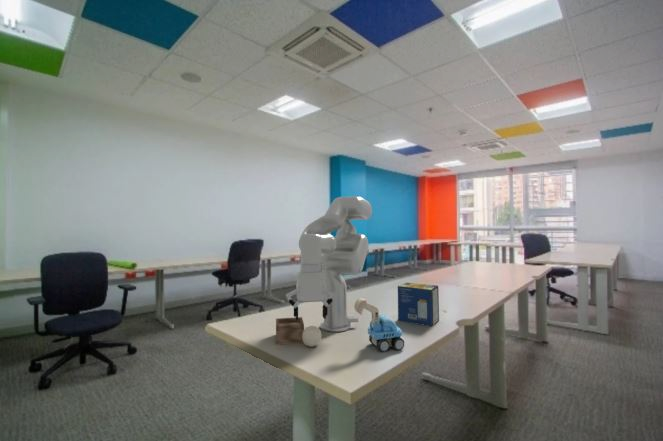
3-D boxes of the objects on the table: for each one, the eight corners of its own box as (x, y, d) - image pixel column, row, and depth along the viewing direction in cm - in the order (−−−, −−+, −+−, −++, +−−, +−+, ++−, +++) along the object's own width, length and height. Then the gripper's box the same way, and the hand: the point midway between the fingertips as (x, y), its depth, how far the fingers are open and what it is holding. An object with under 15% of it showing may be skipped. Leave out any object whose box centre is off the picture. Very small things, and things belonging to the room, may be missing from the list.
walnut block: (301, 333, 121) (301, 317, 121) (304, 342, 111) (304, 324, 111) (276, 335, 119) (276, 318, 119) (276, 344, 109) (276, 326, 109)
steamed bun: (321, 341, 111) (321, 323, 112) (321, 349, 104) (321, 329, 104) (302, 341, 111) (302, 323, 111) (301, 349, 104) (301, 329, 104)
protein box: (406, 315, 145) (406, 282, 146) (439, 320, 136) (438, 285, 137) (397, 320, 137) (396, 285, 137) (432, 326, 128) (431, 289, 128)
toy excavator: (351, 346, 107) (350, 296, 108) (394, 340, 112) (393, 293, 112) (360, 355, 99) (359, 302, 99) (406, 349, 103) (405, 298, 104)
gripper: (333, 267, 113) (332, 314, 112) (286, 268, 110) (285, 316, 109) (337, 269, 106) (336, 320, 105) (286, 270, 103) (285, 322, 102)
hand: (310, 318), depth 107 cm, fingers open, 9 cm apart
